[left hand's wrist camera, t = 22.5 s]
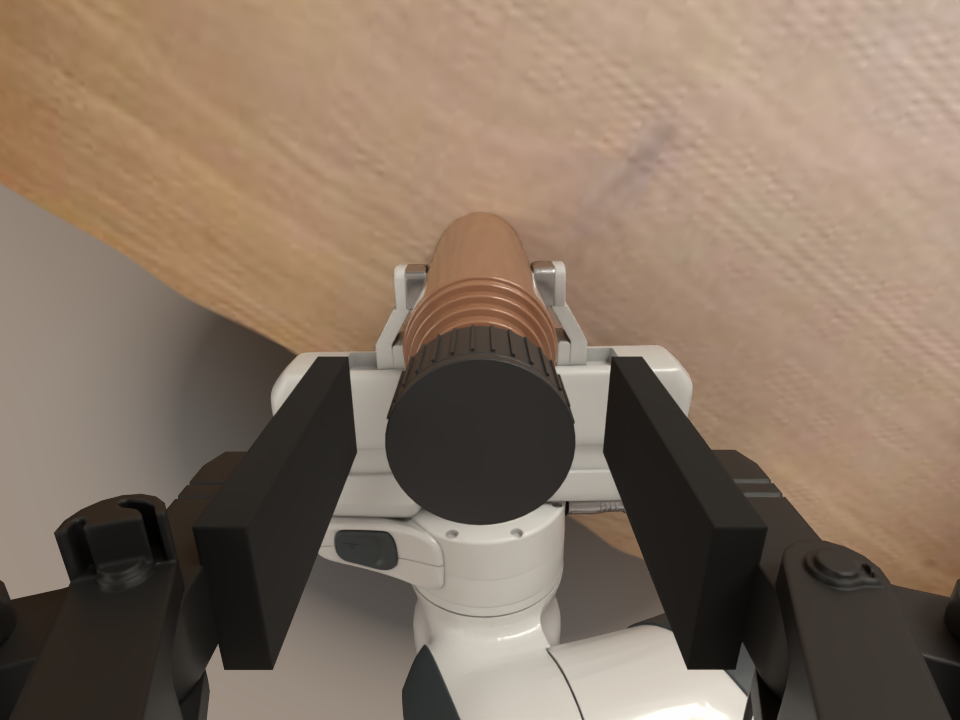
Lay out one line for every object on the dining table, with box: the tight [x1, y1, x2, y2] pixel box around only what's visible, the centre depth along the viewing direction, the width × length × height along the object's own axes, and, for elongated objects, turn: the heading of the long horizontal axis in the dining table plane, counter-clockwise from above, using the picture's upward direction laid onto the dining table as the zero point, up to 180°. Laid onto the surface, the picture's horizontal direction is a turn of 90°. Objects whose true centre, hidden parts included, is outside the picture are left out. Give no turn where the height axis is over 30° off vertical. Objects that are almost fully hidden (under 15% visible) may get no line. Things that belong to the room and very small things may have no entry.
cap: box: [385, 324, 576, 525], centre depth 13 cm, size 4×4×2 cm
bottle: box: [403, 213, 558, 370], centre depth 23 cm, size 5×5×21 cm
